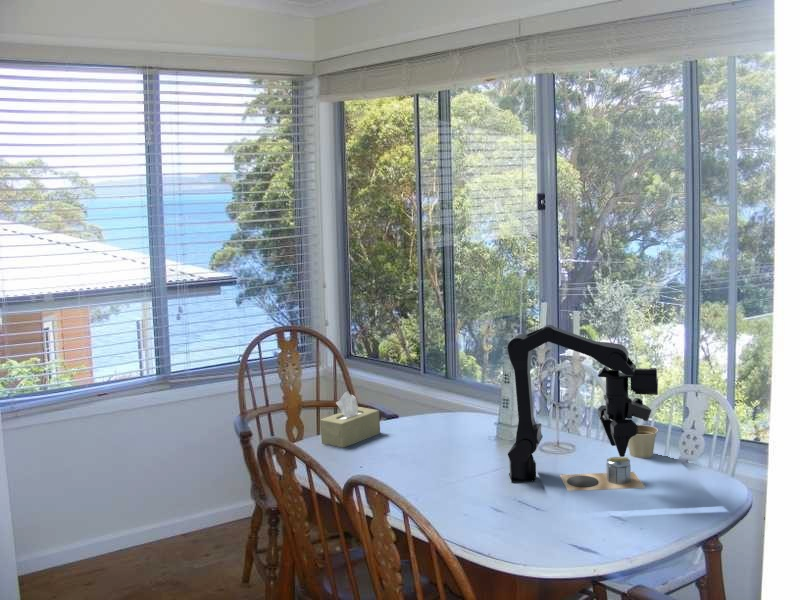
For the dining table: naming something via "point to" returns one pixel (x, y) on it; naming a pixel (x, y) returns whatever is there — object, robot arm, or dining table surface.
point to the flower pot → (643, 442)
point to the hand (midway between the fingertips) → (617, 451)
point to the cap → (618, 470)
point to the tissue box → (349, 423)
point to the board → (597, 482)
